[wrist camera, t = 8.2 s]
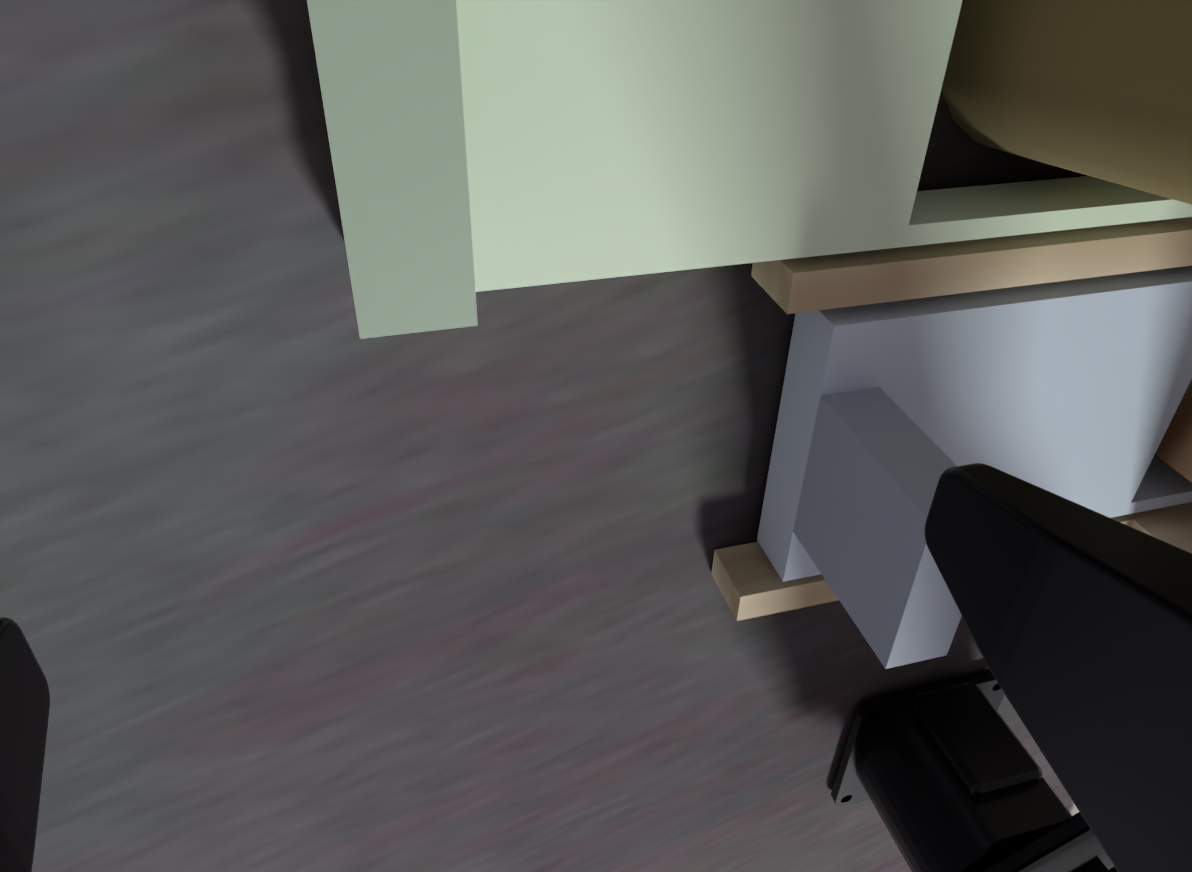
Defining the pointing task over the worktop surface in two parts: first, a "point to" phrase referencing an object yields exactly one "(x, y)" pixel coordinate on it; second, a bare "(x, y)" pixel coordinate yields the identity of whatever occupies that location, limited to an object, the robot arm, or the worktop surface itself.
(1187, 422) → the walnut cube
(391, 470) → the worktop surface
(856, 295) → the board
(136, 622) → the worktop surface
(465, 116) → the pale green tray
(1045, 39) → the olive rounded upright piece
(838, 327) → the blue-grey tray
